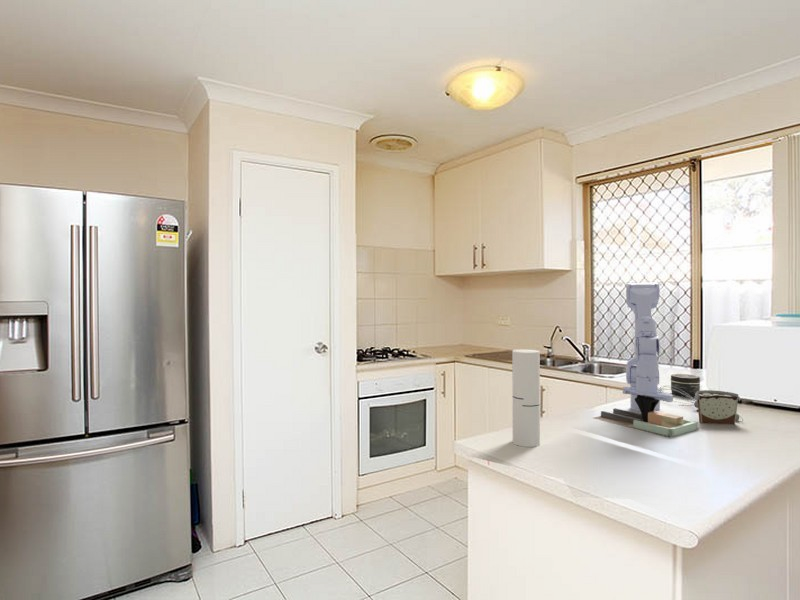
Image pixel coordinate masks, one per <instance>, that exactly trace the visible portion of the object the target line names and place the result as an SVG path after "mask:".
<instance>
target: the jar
mask: <svg viewBox="0 0 800 600" xmlns="http://www.w3.org/2000/svg"><path fill="white" fill-rule="evenodd" d="M672 386H673V387H672ZM675 387H676V388H675ZM671 388H672V390H670V391H671V393H672V395H673V396H674V395H675V396H676V395H677V397H682V396H683V397H682V398H690V397H691V398H692V397H693V398H695V394H696V392H697V391H701V377H700V376H699V375H695V374H686V373H674V374H671V375H670V389H671ZM674 389H675V390H677V391H675V390H674ZM681 390H682V391H681ZM678 391H679V392H678ZM683 391H684V392H683ZM680 392H681V393H680ZM683 393H684V395H683ZM686 393H687V394H686ZM685 394H686V396H685ZM687 395H688V397H687ZM689 395H690V396H689Z"/></svg>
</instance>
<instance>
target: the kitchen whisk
mask: <svg viewBox="0 0 800 600" xmlns="http://www.w3.org/2000/svg"><path fill="white" fill-rule="evenodd" d="M665 387H666V389H663V388H665ZM672 387H673V386H672ZM675 388H676V387H675ZM662 389H663V390H662ZM658 390H659V392H662V393H666V394H670V395H673V398H676V399H679V400H683V401H686V402H689V403H690V404H688V403H686V402H684V404H682V402H680V401H678V403H681V404H682V405H681V404H680V405H681V406H682V407H685V405H686V407H694V408H696V409H698V405H697V400H695V399H694V398H695V397H688V395H687V397H686V398H689V399H690V400H688V399H686V398H684V397H681V396H676V395H674V394H673V393H672V394H671V393H669V392H666V390H668V391H671V390H672V388H671V386H668V385H663V386H662V385H661V386H660V387H659V389H658ZM674 390H675V389H674ZM675 391H677V390H675ZM681 391H682V390H681ZM678 392H679V391H678ZM683 392H684V391H683ZM680 393H681V392H680ZM686 394H687V393H686ZM686 394H685V396H686ZM683 395H684V393H683ZM689 396H690V395H689ZM691 400H692V401H691ZM693 401H694V402H693ZM673 402H675V403H677V401H675V400H673ZM740 418H741V420H742V421H740ZM737 420H738V421H740V423H742V422H744V419H743V417H742V416H740V415H739V414H738V413H736V422H737Z"/></svg>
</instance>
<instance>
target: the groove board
mask: <svg viewBox="0 0 800 600" xmlns="http://www.w3.org/2000/svg"><path fill="white" fill-rule="evenodd" d="M612 412H613V413H612ZM612 412H610V411H609V412H608V411H605V410H601V411H600V415H599V416H596V417H593V419H594V420H599V421H603V422H607V423H609V424H610V423H611V424H615V425H619V426H622V427H626V428H629V429H633V430H638V431H642V432H647V433H648V434H649V433H650V434H653V435H654V434H655V435H658V436H662V437H665V438H669V439H670V438H671V437H670V436H666V435H662V434H658V433H654V432H650V431H646V430H642V429H638V428H634V427H633V420H637V421H642V422H644V421H643V418H642V415H641V413H639V412H638V413H637V412H633V411H628V410H624V409H620V408H613V409H612ZM646 423H648V422H646ZM699 429H700V428H699V427H698V429H696V430H699ZM696 430H695V431H696ZM690 432H691V431H689V432H686V433H690ZM686 433H685V434H686ZM680 435H681V434H679V435H676V436H680ZM676 436H675V437H676Z"/></svg>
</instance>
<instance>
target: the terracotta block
mask: <svg viewBox="0 0 800 600" xmlns="http://www.w3.org/2000/svg"><path fill="white" fill-rule="evenodd" d="M665 414H670V412H669V413H668V412H664V411H659V410H655V411H652V412H648V423H650V424H654V425H658V426H662V415H665Z"/></svg>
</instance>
